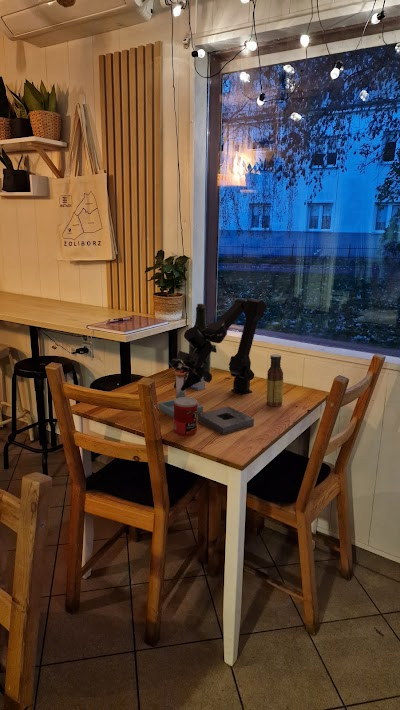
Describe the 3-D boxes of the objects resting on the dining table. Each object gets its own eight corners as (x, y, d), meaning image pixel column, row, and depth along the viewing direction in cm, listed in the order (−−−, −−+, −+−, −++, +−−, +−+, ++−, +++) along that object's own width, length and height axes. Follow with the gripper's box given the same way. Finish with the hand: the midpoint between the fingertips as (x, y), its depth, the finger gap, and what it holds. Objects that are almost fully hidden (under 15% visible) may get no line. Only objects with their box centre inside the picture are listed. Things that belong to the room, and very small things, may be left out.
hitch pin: (186, 405, 180) (187, 369, 176) (187, 409, 176) (187, 373, 172) (174, 405, 180) (174, 369, 176) (174, 409, 175) (175, 373, 171)
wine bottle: (186, 375, 220) (187, 305, 211) (190, 369, 230) (191, 301, 221) (208, 377, 218) (210, 306, 209) (211, 371, 228) (214, 302, 219)
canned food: (188, 438, 155) (189, 406, 152) (168, 432, 159) (169, 401, 156) (201, 430, 161) (202, 400, 159) (181, 425, 165) (182, 395, 163)
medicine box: (185, 385, 206) (186, 366, 204) (193, 383, 209) (193, 365, 207) (197, 390, 200) (198, 371, 198) (205, 388, 203) (206, 369, 201)
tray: (184, 403, 186) (184, 397, 185) (202, 412, 177) (203, 406, 176) (158, 409, 179) (158, 403, 178) (176, 419, 170) (176, 413, 169)
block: (228, 412, 178) (228, 406, 177) (253, 425, 167) (254, 418, 166) (197, 420, 169) (198, 414, 169) (222, 434, 159) (223, 427, 158)
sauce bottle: (283, 402, 189) (287, 354, 184) (280, 407, 184) (284, 358, 178) (267, 400, 191) (270, 352, 186) (263, 405, 186) (267, 356, 180)
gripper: (172, 337, 180) (149, 371, 176) (207, 347, 167) (183, 383, 163) (187, 354, 188) (166, 387, 183) (222, 364, 175) (199, 400, 170)
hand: (178, 389), depth 175 cm, fingers closed on hitch pin, 3 cm apart
